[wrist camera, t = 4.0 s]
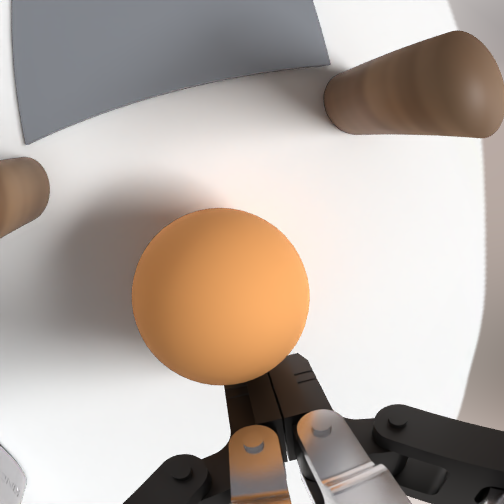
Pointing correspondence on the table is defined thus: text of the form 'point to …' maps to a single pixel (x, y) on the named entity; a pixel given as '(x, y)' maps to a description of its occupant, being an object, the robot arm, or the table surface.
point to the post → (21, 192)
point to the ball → (220, 296)
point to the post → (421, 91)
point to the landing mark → (147, 51)
